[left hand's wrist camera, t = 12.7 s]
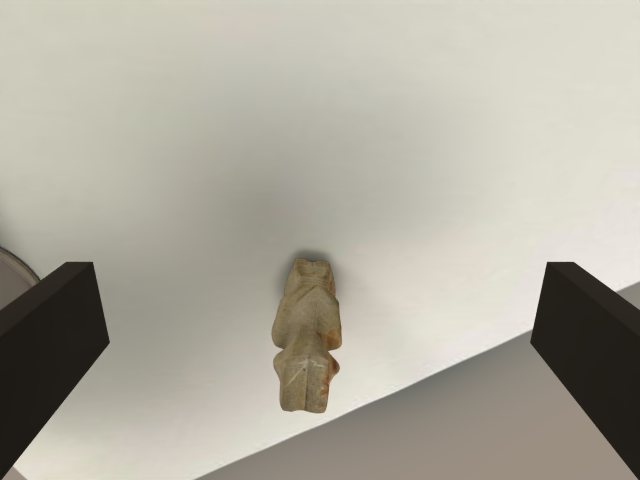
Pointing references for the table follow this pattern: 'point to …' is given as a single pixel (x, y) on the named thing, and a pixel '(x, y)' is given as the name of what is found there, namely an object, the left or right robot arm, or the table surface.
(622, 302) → the left robot arm
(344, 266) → the table surface
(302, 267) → the sculpture
